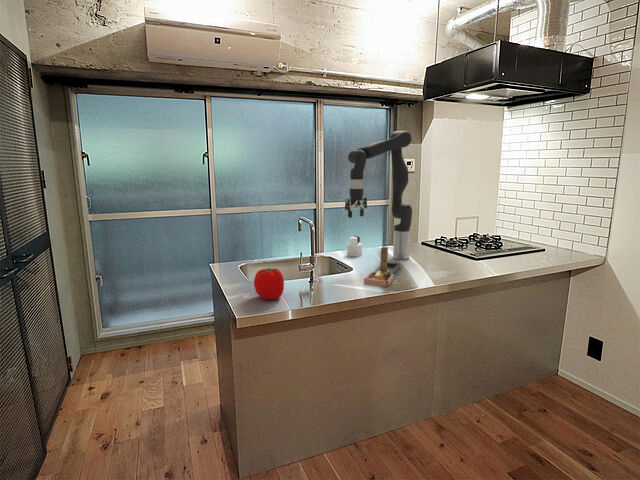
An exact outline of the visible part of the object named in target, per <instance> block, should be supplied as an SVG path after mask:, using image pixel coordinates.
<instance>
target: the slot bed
mask: <svg viewBox="0 0 640 480" xmlns="http://www.w3.org/2000/svg"><path fill="white" fill-rule="evenodd" d="M380 270H381V264H379V266H378V267H377V268H376V269H375V270H374V271H372V272H373V277H374V278H375V274H376V273H377V272H378V271H380ZM387 270H388V271H390V273H389V276H388V277H387V278H386V279H389V278H390V276H391V275H392V274H394V279H393V280H395V279H396V278H397V277H398V276H399V274H400V273H401V272H402V270H404V267H403V266H402V267H401V263H397V262H388V261H387Z"/></svg>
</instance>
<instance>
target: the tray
mask: <svg viewBox="0 0 640 480" xmlns="http://www.w3.org/2000/svg"><path fill="white" fill-rule="evenodd" d="M373 272H374V271H370V273H368V275H366V276H365V277H364V279H363V284H364V285H372V286H380V287H387V288H388V287H389V286H390V284H392V282H393V280H395V279H394V274H392V275H391V276H390V278H387V280H384V281H382V280H374V279H372V278H373V277H374V276H373Z"/></svg>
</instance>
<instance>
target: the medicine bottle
mask: <svg viewBox="0 0 640 480" xmlns="http://www.w3.org/2000/svg"><path fill="white" fill-rule="evenodd" d="M346 247H347V249H346V250H347V251H346V252H347V253H346V255H347V256H348V257H355V258H358V257H360V256H362V255H363V243H361V238H360V236H357V235H353V236H350V238H349V243H348V244H347V246H346Z"/></svg>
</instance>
